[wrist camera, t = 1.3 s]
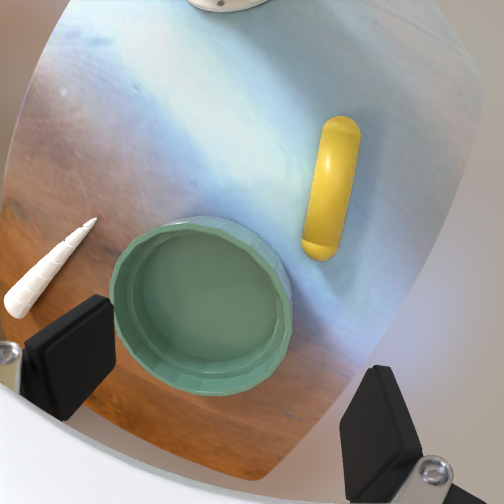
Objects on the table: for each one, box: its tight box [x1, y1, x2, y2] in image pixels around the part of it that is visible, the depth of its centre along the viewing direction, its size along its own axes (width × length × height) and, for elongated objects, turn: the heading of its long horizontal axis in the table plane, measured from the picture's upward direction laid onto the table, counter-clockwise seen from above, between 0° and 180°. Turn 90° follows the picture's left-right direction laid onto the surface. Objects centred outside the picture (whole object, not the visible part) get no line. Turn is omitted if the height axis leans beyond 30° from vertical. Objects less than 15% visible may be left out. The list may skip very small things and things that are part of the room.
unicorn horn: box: [4, 218, 97, 318], centre depth 32 cm, size 5×24×5 cm, turn 120°
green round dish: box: [109, 215, 293, 396], centre depth 29 cm, size 18×18×6 cm
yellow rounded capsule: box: [301, 116, 361, 261], centre depth 25 cm, size 14×4×4 cm, turn 170°
